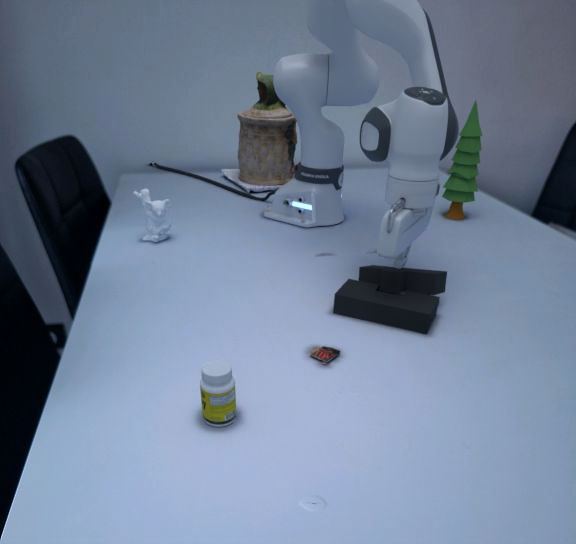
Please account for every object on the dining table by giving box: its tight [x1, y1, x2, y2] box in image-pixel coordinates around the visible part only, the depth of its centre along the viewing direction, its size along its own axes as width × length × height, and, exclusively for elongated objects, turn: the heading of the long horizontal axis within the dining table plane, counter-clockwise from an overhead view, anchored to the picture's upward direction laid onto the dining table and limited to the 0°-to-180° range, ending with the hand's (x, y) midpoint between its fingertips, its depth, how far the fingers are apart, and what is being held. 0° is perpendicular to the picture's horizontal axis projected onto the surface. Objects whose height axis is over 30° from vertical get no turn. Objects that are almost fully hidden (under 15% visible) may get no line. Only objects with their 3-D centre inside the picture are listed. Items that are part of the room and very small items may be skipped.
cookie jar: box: [221, 70, 298, 194], centre depth 170 cm, size 25×25×32 cm
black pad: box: [358, 264, 448, 296], centre depth 105 cm, size 16×8×4 cm, turn 56°
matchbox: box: [309, 345, 341, 366], centre depth 88 cm, size 5×5×1 cm
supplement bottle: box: [199, 359, 238, 428], centre depth 72 cm, size 5×5×8 cm
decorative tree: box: [441, 99, 483, 221], centre depth 144 cm, size 10×9×30 cm
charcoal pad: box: [332, 278, 441, 335], centre depth 100 cm, size 18×8×4 cm, turn 65°
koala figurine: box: [133, 188, 173, 243], centre depth 128 cm, size 8×7×12 cm
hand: (399, 265), depth 103 cm, fingers closed
